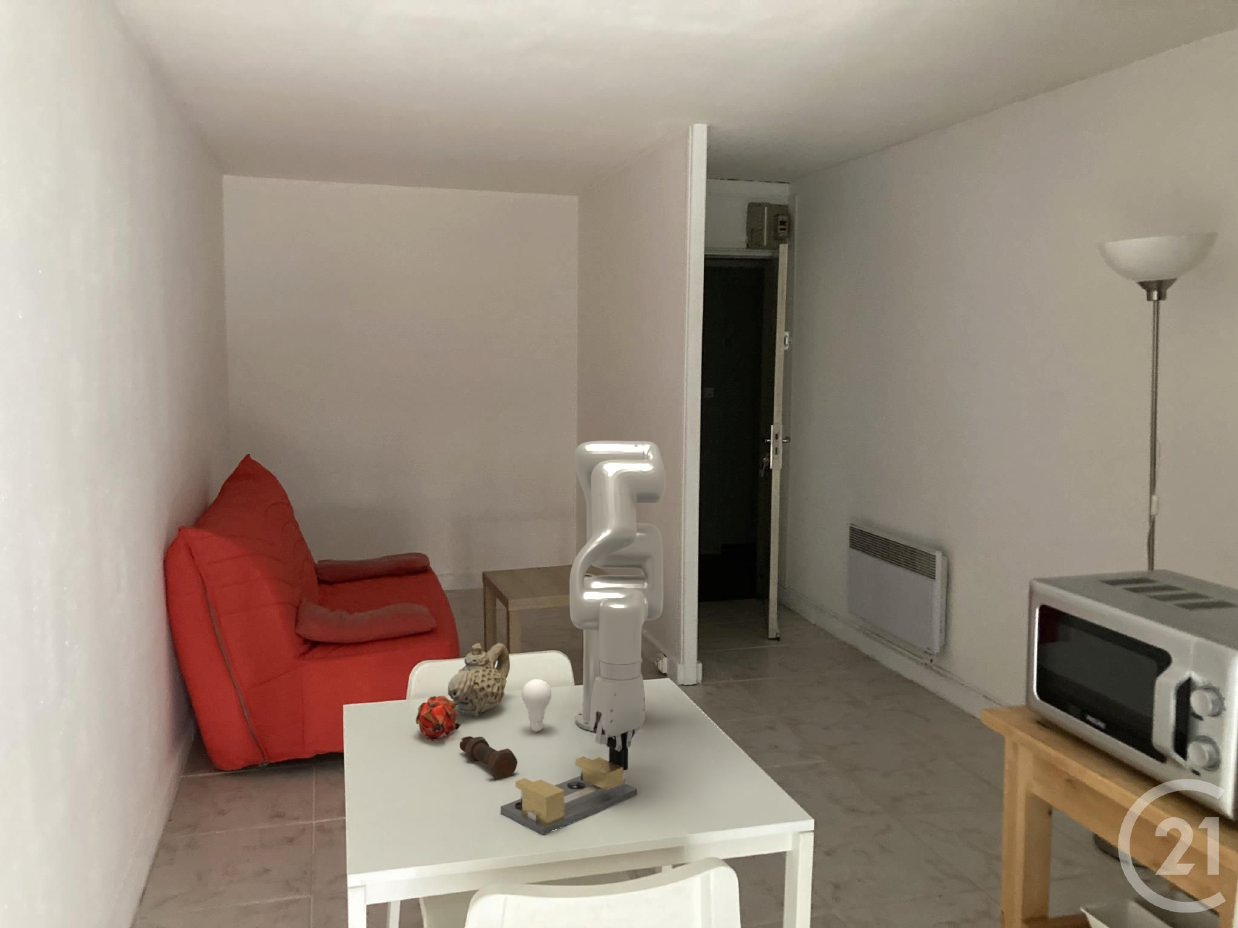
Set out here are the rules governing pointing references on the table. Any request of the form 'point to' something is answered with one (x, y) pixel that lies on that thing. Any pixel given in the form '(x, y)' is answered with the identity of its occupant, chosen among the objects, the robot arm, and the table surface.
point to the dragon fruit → (437, 717)
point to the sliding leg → (600, 772)
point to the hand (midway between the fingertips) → (618, 768)
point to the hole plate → (574, 810)
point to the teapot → (480, 680)
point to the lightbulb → (536, 701)
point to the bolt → (489, 756)
